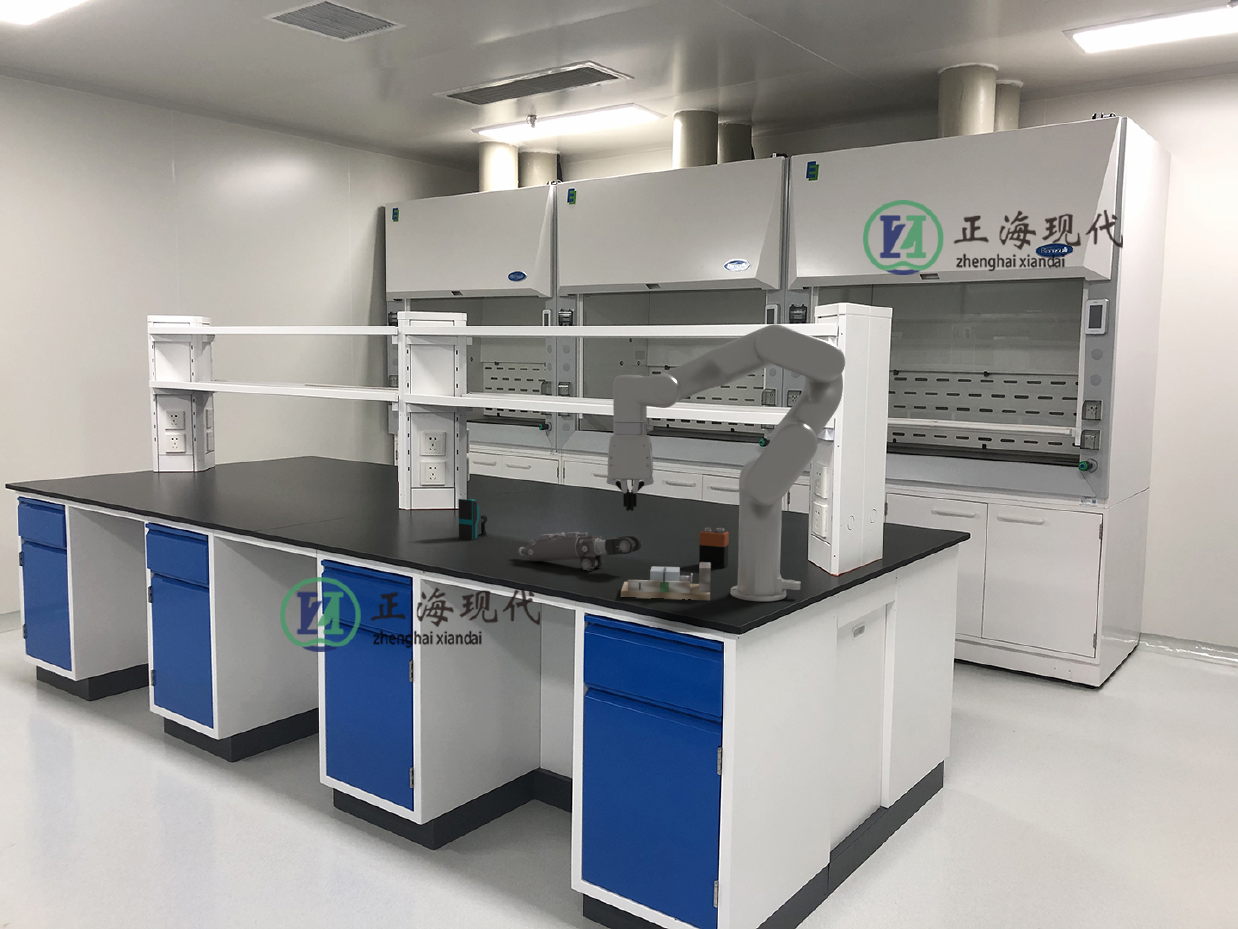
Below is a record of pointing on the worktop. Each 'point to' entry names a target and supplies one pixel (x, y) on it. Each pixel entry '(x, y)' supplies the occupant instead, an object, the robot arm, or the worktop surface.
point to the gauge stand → (671, 587)
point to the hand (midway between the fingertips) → (630, 509)
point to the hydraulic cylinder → (579, 548)
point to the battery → (714, 547)
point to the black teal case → (470, 520)
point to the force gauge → (668, 574)
